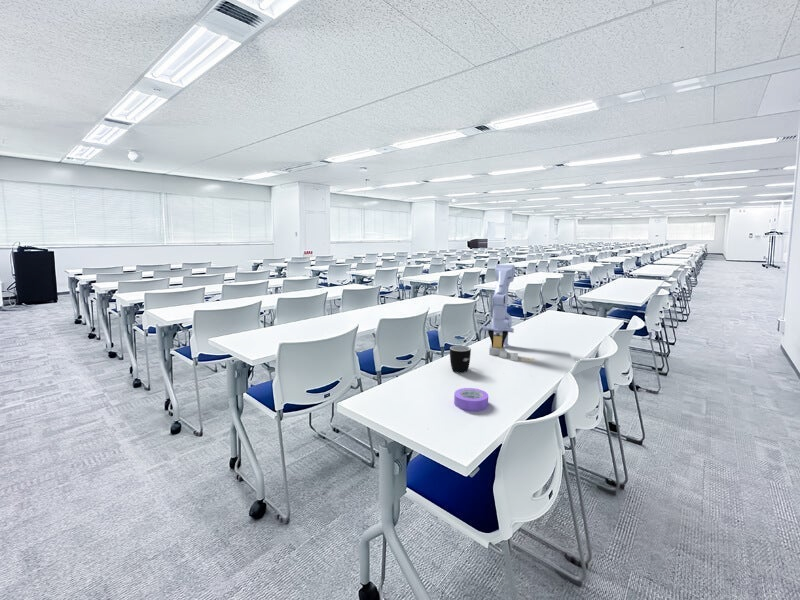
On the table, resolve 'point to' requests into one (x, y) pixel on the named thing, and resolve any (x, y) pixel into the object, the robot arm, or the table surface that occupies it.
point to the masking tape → (471, 399)
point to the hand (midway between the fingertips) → (497, 345)
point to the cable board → (503, 354)
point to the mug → (460, 358)
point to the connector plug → (497, 341)
